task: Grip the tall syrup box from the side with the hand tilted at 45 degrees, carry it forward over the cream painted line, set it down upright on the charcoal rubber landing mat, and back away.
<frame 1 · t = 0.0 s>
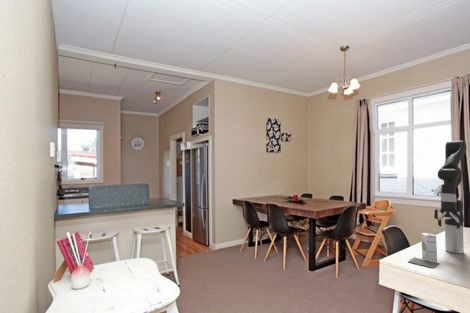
hand: (448, 227, 166), 17 cm above the table, tool pointing down, fingers open, 8 cm apart
landing mat: (423, 263, 152), on the table
syrup box: (429, 259, 159), on the table
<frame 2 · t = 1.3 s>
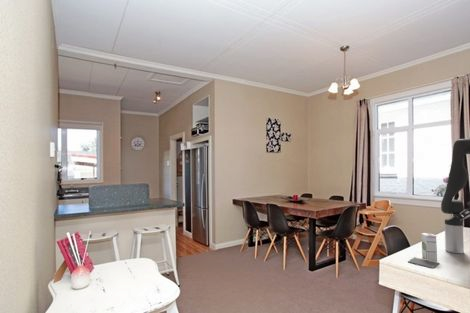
hand: (454, 221, 151), 24 cm above the table, tool tilted 45°, fingers open, 8 cm apart
nothing on the table moved.
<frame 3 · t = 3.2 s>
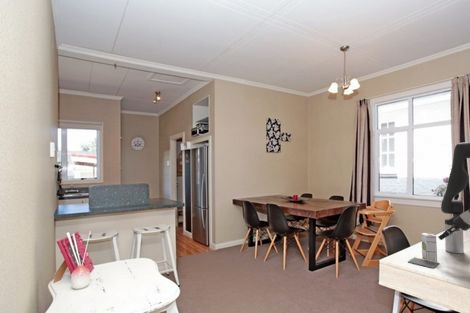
hand: (441, 237, 155), 14 cm above the table, tool tilted 45°, fingers open, 8 cm apart
nothing on the table moved.
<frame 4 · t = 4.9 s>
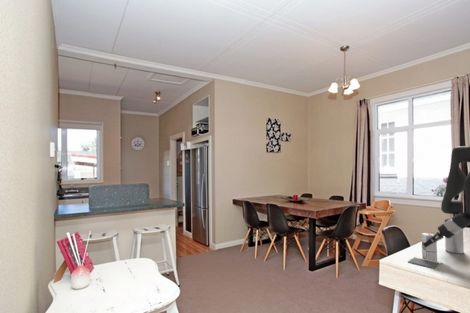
hand: (426, 244, 161), 8 cm above the table, tool tilted 45°, fingers open, 8 cm apart
nothing on the table moved.
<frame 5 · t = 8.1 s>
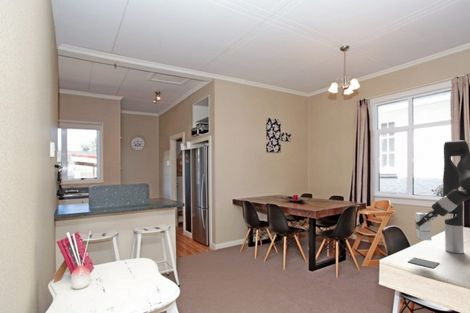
hand: (420, 224, 154), 22 cm above the table, tool tilted 45°, fingers closed on syrup box, 8 cm apart
syrup box: (423, 239, 152), point 13 cm above the table, touching gripper
when the fingers open (10 cm above the table, at t = 11.0 s): syrup box drops 1 cm, resting on landing mat.
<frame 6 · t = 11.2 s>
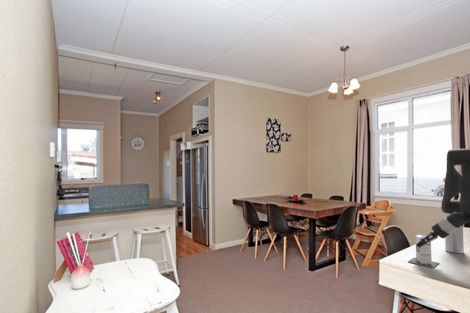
hand: (420, 244, 153), 10 cm above the table, tool tilted 45°, fingers open, 8 cm apart
syrup box: (423, 262, 152), resting on landing mat, touching gripper
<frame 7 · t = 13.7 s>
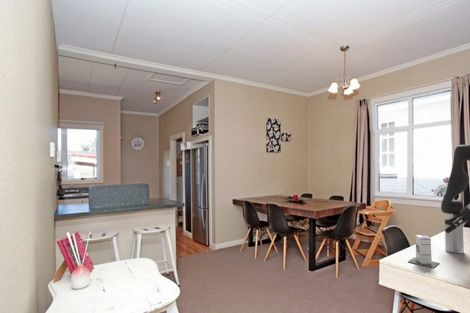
hand: (448, 230, 145), 20 cm above the table, tool tilted 45°, fingers open, 8 cm apart
syrup box: (423, 262, 152), resting on landing mat
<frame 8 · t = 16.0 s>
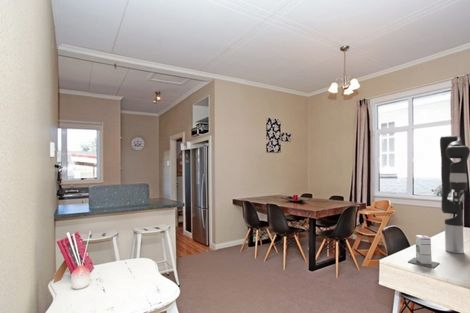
hand: (459, 210, 151), 30 cm above the table, tool pointing down, fingers open, 8 cm apart
nothing on the table moved.
at the end: syrup box inside the target area (1.0 cm from its centre), resting on landing mat; syrup box tilted 0°; the gripper is holding nothing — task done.
